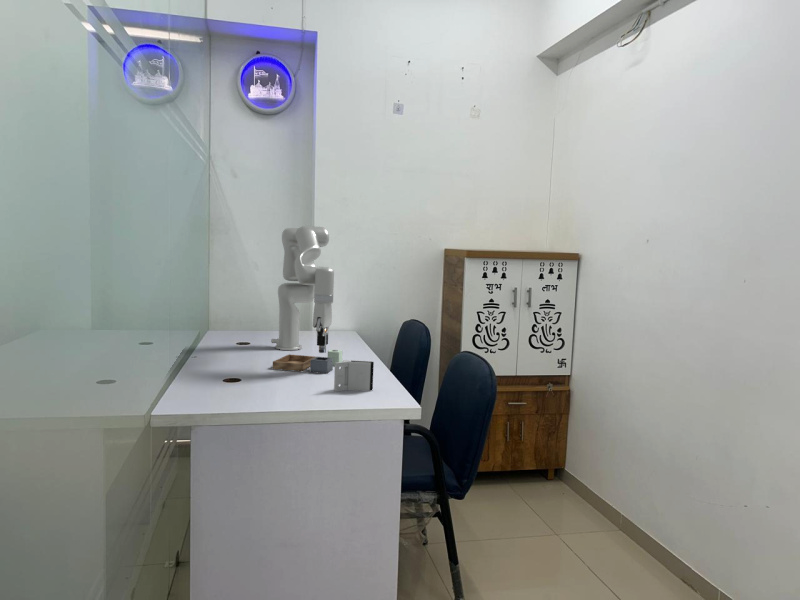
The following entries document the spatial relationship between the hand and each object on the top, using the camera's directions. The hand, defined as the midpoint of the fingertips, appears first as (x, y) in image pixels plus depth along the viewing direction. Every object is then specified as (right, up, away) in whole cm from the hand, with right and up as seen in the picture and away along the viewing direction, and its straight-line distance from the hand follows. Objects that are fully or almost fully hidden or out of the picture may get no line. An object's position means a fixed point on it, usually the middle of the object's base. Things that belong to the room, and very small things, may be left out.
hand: (322, 344), depth 226 cm
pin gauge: (0, -3, 0) cm, 3 cm away
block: (0, -11, +1) cm, 11 cm away
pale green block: (+3, -10, +15) cm, 18 cm away
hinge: (+14, -14, -26) cm, 33 cm away
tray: (-12, -10, +8) cm, 18 cm away
